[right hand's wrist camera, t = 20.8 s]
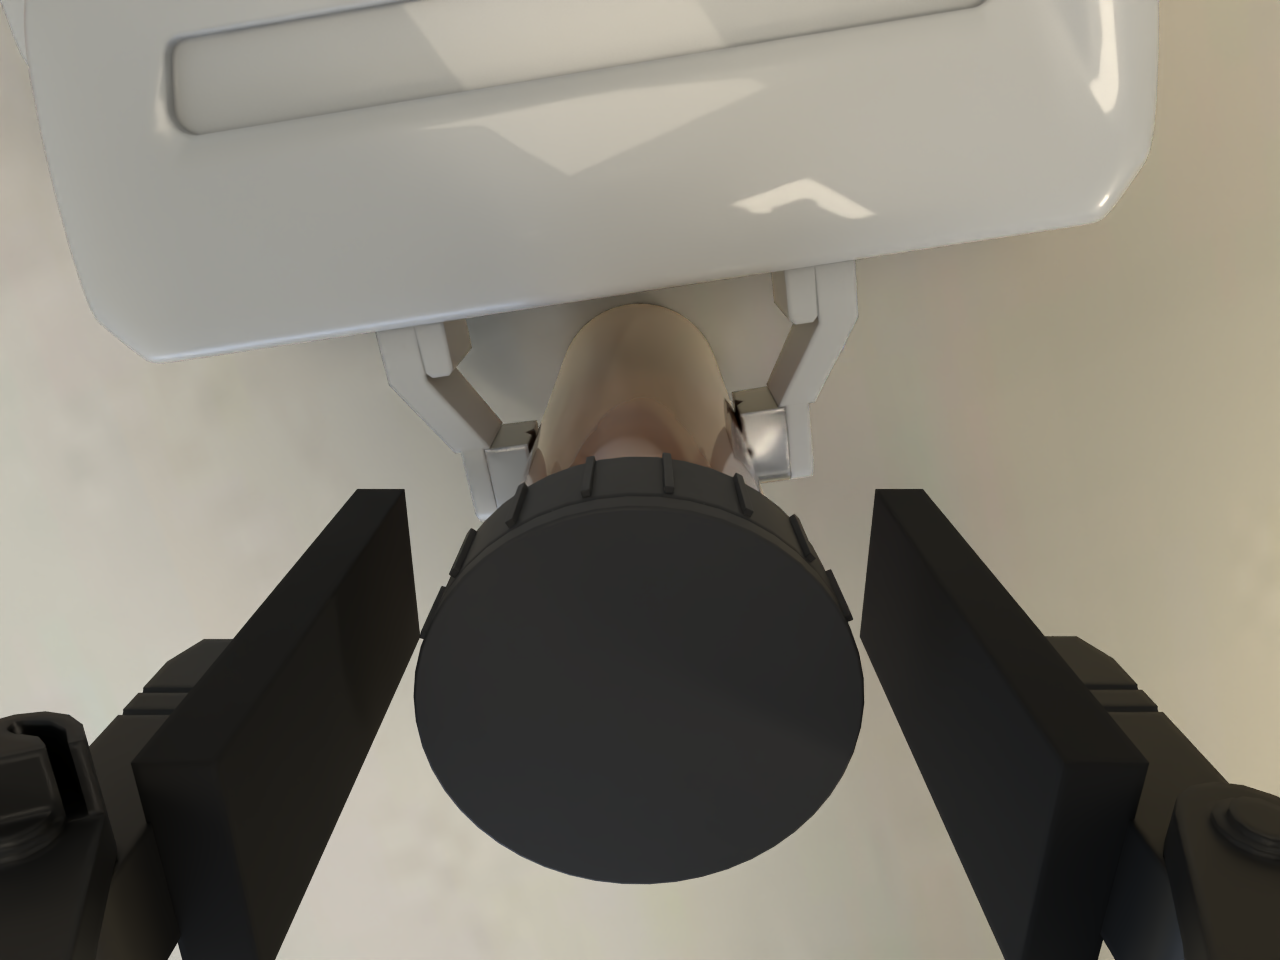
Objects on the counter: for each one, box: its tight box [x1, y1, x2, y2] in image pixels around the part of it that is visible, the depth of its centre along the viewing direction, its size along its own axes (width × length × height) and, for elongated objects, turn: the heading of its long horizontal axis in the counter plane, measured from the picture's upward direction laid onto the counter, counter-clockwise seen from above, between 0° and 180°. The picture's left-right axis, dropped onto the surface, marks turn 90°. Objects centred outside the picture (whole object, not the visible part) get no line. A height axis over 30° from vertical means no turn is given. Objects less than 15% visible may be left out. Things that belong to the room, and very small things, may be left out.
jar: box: [518, 303, 764, 495], centre depth 18 cm, size 5×5×15 cm
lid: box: [414, 453, 864, 884], centre depth 11 cm, size 6×6×2 cm
